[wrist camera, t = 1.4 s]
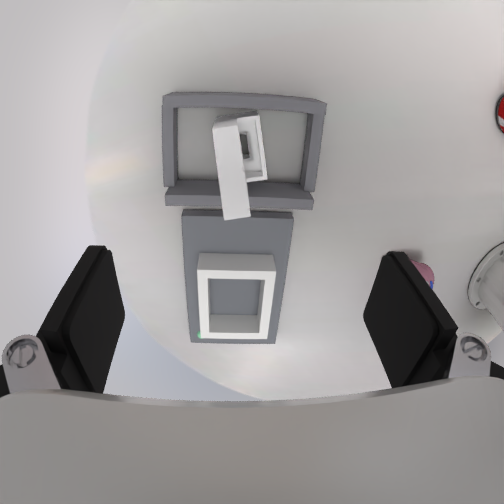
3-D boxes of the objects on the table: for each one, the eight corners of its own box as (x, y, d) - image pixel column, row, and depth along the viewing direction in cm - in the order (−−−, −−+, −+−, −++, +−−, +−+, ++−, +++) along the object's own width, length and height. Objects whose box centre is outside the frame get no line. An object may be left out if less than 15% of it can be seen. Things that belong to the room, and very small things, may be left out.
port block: (291, 212, 33) (299, 233, 29) (273, 335, 42) (277, 361, 38) (183, 209, 32) (176, 230, 28) (191, 334, 41) (188, 359, 38)
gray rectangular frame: (320, 99, 27) (332, 104, 23) (308, 193, 32) (317, 210, 28) (166, 92, 26) (156, 96, 22) (168, 189, 31) (159, 205, 27)
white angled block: (233, 225, 30) (224, 220, 22) (220, 127, 30) (207, 89, 21) (272, 220, 30) (277, 212, 22) (256, 121, 30) (256, 81, 21)
